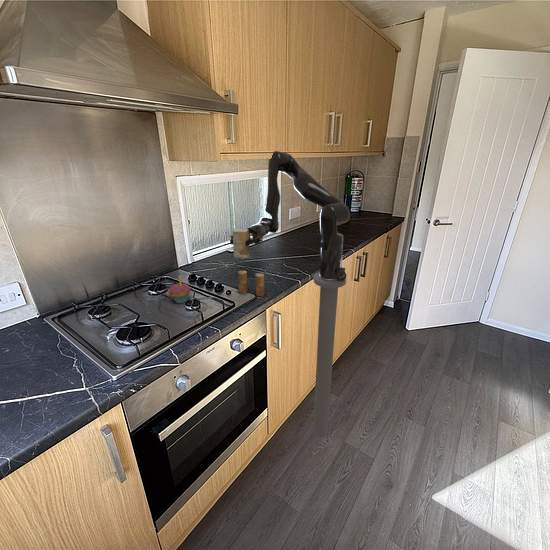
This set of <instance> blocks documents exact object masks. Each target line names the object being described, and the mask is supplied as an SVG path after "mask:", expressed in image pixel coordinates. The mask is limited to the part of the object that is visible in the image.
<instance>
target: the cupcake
mask: <svg viewBox="0 0 550 550" xmlns="http://www.w3.org/2000/svg"><path fill="white" fill-rule="evenodd" d="M178 278H179V279H178V280H179V283H178V282H177V283H174V284H173V285H171V286H169V288H168V290H167V293H168V295H169V296H170V297H171V298H173V299H174V302H175V303H177V304H184V303H186V302H187V301H188V300H189V296H190V293H191V291H192V289H191V287H190V285H188V283H187V284H186V283H182V276H181V275H179V276H178Z"/></svg>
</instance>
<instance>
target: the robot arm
mask: <svg viewBox="0 0 550 550" xmlns="http://www.w3.org/2000/svg"><path fill="white" fill-rule="evenodd" d="M273 152H274V153H273V155H272V158H271V159H269V158H268V162H267V163H268V165H267V194H266V199H265V205H264V212H265V213H266V214H268V215H269V216H271V217H268V216H262V217H261V218H259V219H260V220H259V221H258V223H255V224H253V225H251V226H249V227H247V228H246V229H248V230H249V239H248V240H247V241H245V246H249V247H250V245H253V244H254V245H258V244H260V243H261V242H263V241H264V239H263V238H264V237H265V236H266V235H268V234H269V233H272V234H275V233H277V232H278V230H279V229H280V220H279V211H280V210H279V209H280V204H281V193H280V188H279V185H278V176H279V173H283V174H286V175H287V176H288V177H289V178H290V179H291V180H292V185H293V188H294V190H296V192H297V193H298V194H299V195H300V196H301V197H302V198H303V199H305V200H307V201H308V202H311V203H313V204H316V205H317V206H320V207H321V210H320V213H319V234H320V237H321V241H320V242H321V245H320V261H319V262H320V263H319V272H320V278H321V279H323V280H326V281H339V279H340V277H343V276H344V275H345V276H344V277H343V278H342V279H341V280H344V279H345V278H346V279H347V273H346V267H343V260H344V259H343V249H344V245H343V244H344V234H343V233H340V232H338V226H340V225H344V224H346V223H347V222H348V221H349V220H350V217H351V213H350V209H349V208H348V206H347V205H346V204H345V202H343V201H341V200H340V199H338V198H337V197H335V195H333V194H332V193H330V192H329V190H327V189H326V188H325V187H323V186H322V184H320V183H319V182H318V180H317V179H316V178H314V177H313V176H312V175H311V174H310V173H308V171H306V170H305V169H304V168H303V167H301V165H300V164H299V163H298V162H297V160H296V159H295V158H294V157H293V156H292V155H291V154H290V153H288V152H284V151H279V150H274V151H273ZM229 244H230V245H233V234H232V235H230V239H229Z"/></svg>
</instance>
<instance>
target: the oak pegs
mask: <svg viewBox="0 0 550 550" xmlns="http://www.w3.org/2000/svg"><path fill="white" fill-rule="evenodd" d="M247 274H248V272H247V271H246V270H238V271H237V280H238V292H239V293H240V294H246V293H248V292H249V291H248V290H249V289H248V275H247ZM254 278H255V279H254V280H255V295H256V297H264V296H265V294H266V290H265V287H266V286H265V274H264V273H263V272H257V273H255V275H254Z"/></svg>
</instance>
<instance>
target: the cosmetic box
mask: <svg viewBox="0 0 550 550" xmlns="http://www.w3.org/2000/svg"><path fill="white" fill-rule="evenodd" d="M232 235H233V244H232V247H233V248H232V249H233V258H235V259H248V258H250V257H249V256H250V245H249V246H245V241H247V240H248V239H249V230H248V229H247V228H234V229H233V230H232Z"/></svg>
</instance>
